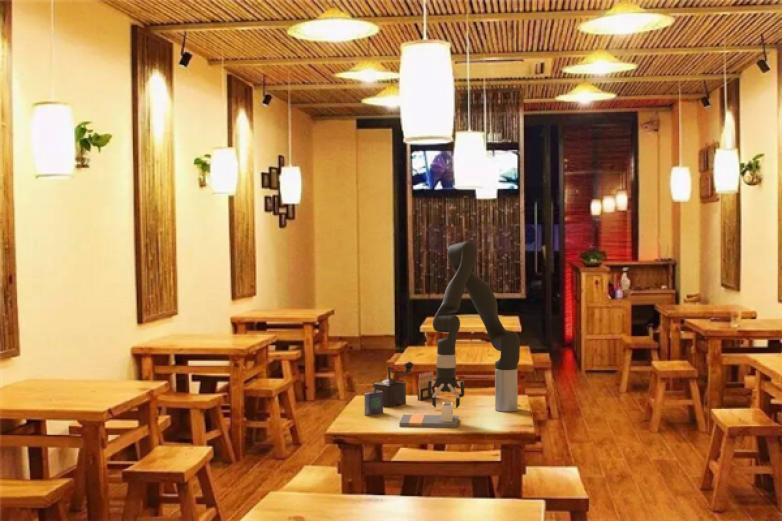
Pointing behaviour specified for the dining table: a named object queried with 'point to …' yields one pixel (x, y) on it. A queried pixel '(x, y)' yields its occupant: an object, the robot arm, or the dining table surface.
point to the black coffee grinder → (393, 388)
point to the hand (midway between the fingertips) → (445, 407)
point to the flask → (373, 402)
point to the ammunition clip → (425, 386)
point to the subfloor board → (427, 421)
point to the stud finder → (447, 411)
